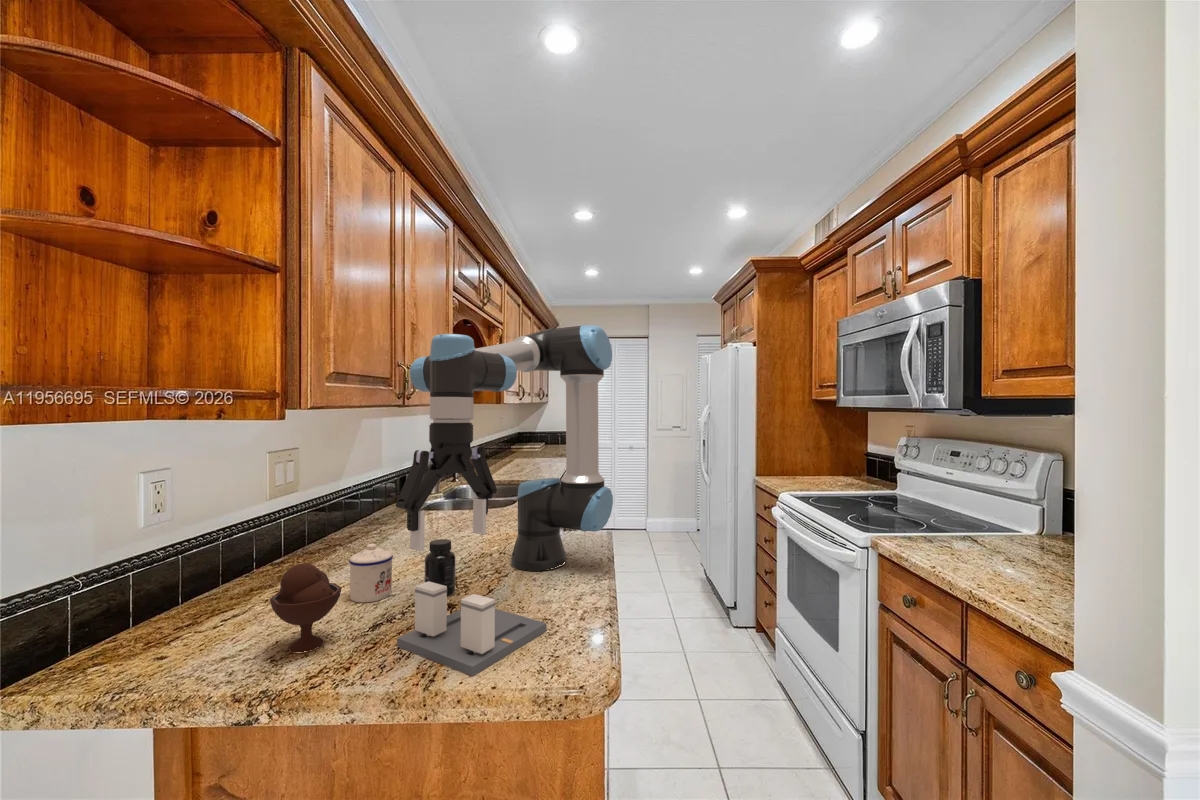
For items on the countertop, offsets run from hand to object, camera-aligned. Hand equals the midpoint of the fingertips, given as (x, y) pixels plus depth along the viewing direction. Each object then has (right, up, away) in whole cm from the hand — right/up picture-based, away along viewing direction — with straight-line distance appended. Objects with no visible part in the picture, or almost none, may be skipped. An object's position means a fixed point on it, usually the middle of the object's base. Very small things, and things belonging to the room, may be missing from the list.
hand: (450, 541), depth 88 cm
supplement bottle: (-10, -20, +26) cm, 35 cm away
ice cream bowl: (-26, -19, +1) cm, 33 cm away
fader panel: (+3, -19, +4) cm, 20 cm away
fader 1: (-4, -19, +3) cm, 20 cm away
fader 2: (+6, -19, -4) cm, 20 cm away
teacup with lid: (-26, -20, +27) cm, 42 cm away
